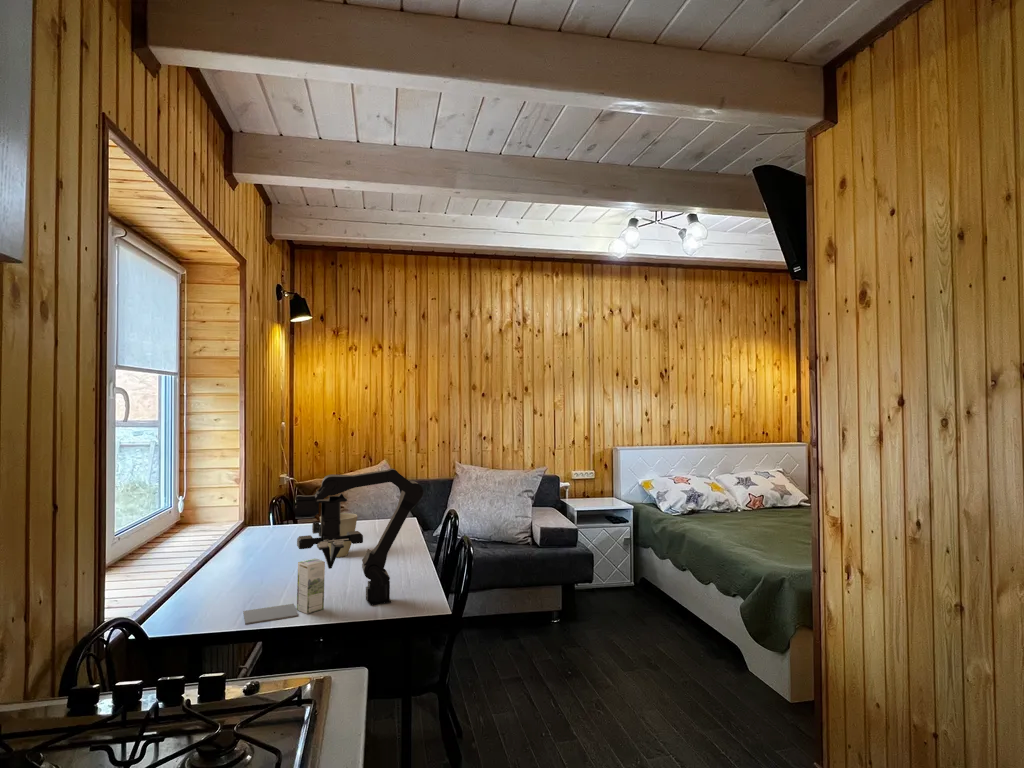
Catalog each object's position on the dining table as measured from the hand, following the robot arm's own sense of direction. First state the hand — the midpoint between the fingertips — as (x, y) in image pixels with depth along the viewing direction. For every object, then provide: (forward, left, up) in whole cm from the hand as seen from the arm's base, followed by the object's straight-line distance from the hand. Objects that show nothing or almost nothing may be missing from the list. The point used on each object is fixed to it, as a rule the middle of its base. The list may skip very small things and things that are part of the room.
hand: (329, 568), depth 177 cm
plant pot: (-15, -63, -12) cm, 66 cm away
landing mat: (+16, -1, -12) cm, 20 cm away
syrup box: (+5, 0, -12) cm, 13 cm away
